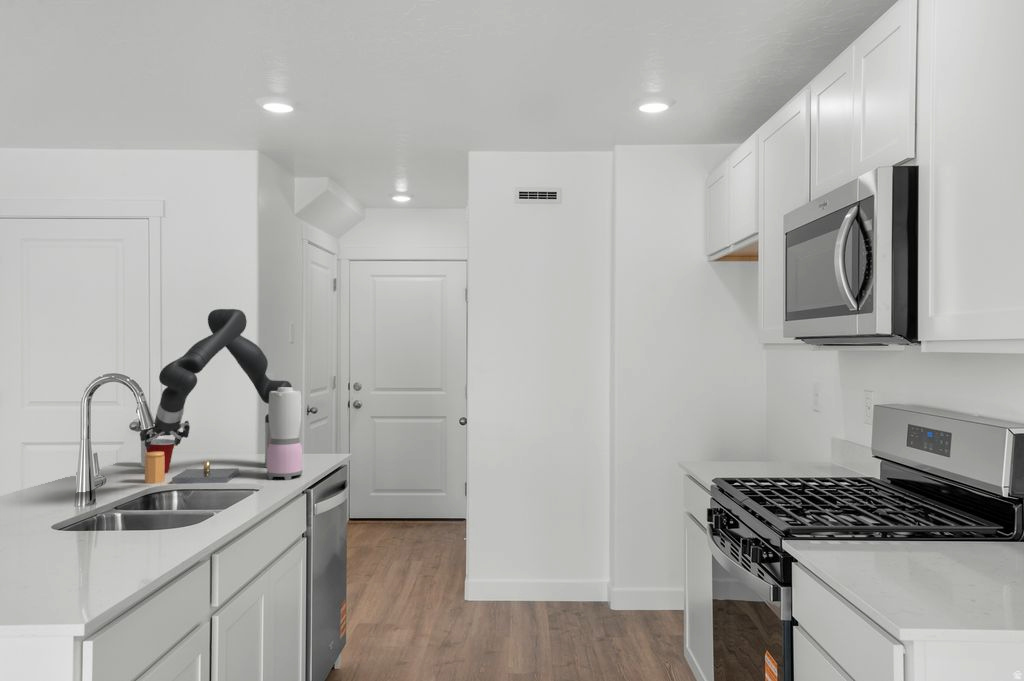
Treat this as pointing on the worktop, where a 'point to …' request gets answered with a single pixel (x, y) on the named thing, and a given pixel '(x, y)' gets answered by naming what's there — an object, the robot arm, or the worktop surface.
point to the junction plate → (205, 475)
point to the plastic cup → (163, 449)
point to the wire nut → (154, 467)
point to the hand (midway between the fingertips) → (161, 444)
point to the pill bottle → (145, 451)
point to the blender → (284, 434)
